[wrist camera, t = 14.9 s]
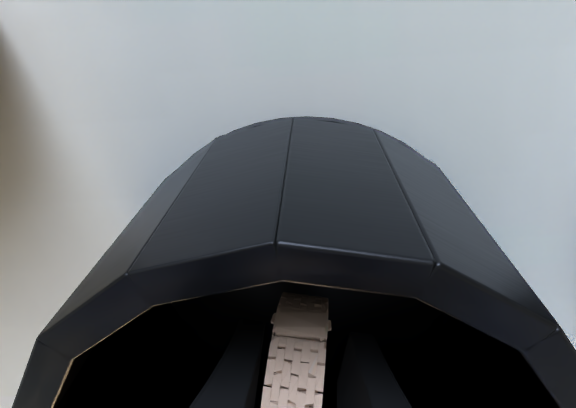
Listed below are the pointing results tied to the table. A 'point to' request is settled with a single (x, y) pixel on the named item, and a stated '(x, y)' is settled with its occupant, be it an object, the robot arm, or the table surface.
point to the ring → (297, 353)
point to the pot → (303, 280)
